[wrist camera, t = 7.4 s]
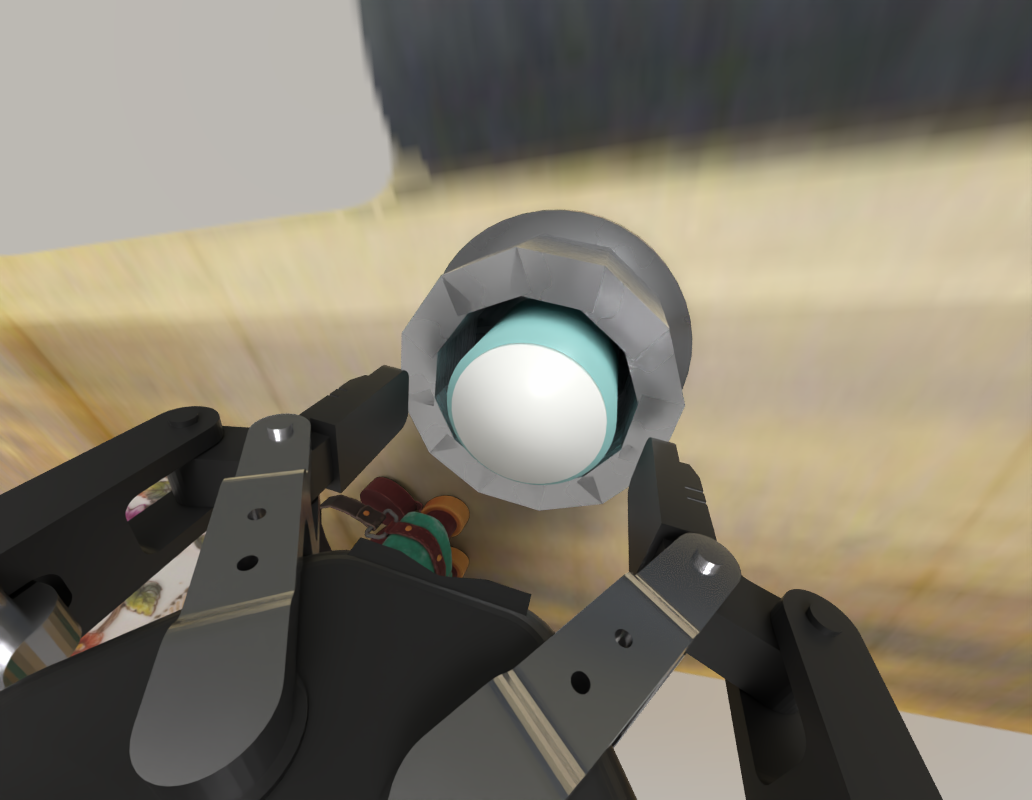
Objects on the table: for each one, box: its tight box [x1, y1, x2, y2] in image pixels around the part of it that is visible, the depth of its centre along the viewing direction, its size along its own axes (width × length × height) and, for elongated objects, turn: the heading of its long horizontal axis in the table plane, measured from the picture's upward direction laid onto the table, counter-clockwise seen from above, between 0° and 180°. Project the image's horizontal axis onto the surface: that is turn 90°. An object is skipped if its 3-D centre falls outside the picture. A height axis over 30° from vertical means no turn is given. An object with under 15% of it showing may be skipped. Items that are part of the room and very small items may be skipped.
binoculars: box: [319, 477, 469, 578], centre depth 23 cm, size 9×11×10 cm
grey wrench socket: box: [401, 209, 692, 511], centre depth 16 cm, size 12×12×5 cm
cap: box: [447, 298, 619, 485], centre depth 15 cm, size 6×6×6 cm
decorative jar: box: [70, 476, 206, 657], centre depth 23 cm, size 12×12×18 cm
